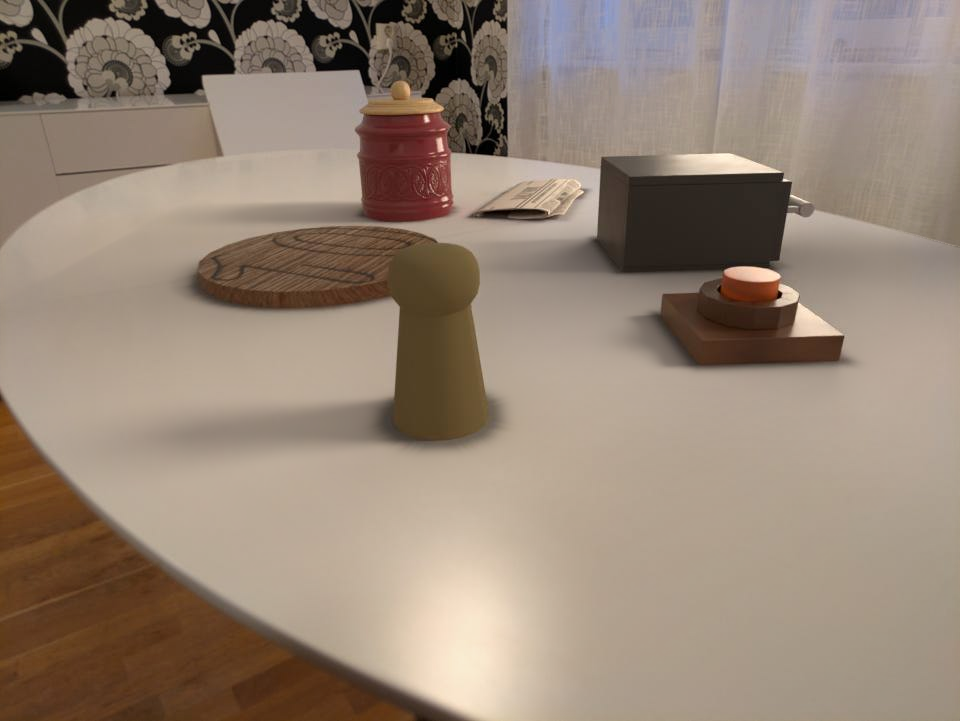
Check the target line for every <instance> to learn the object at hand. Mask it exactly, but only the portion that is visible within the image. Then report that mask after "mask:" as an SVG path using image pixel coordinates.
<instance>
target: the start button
mask: <svg viewBox="0 0 960 721" xmlns="http://www.w3.org/2000/svg"><path fill="white" fill-rule="evenodd" d="M721 278H722V284H721V291H720V294H721V295H722V296H725V297H728V298H731V299H735V300H742V301H750V302H769V301H773V300H776V299H777V295H778V290H779V284H781V283H780V282H781V278H782V277H781V275H780V273H778V272H776V271H774V270H771V269H769V268H767V269H764V268H758V267H745V266H744V267H732V268H728V269H726V270H723V272H722V277H721Z"/></svg>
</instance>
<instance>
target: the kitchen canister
mask: <svg viewBox="0 0 960 721" xmlns="http://www.w3.org/2000/svg"><path fill="white" fill-rule="evenodd" d="M390 95H391V98H375V99H370V100H369V101H368V103H367V104H365V105H364V106H363V107H361V108H360V109H359V110H358V111H359V113H360V114H361V115H363V117H362V119H361V122H360V123H359V124H357V126H356V127H355V128H354V132H355V134H357V135H358V137H359V152H357V153H356V158H357V159H358V166H359V177H360V187H361V188H360V189H361V198H360V201H361V208H362V210H363V213H364V216H365V217H366V218H368V219H371V220H375V221H382V222H394V223H395V222H396V223H397V222H398V223H400V222H401V223H404V222H406V223H407V222H421V221H429V220H435V219H438V218H443V217H445V216H448V215H449V214H451V213H452V212H453V205H454V194H453V190H452V189H453V188H452V186H453V185H452V165H451V163H452V162H451V155H452V154H453V152H452V150H451V149H450V148H449V142H448V133H449V131H450V130H451V127H452V126H451V125H450V123H448V122H446V121H445V120H444V119H443V116H442V115H441V112H443V111H444V110H445V108H444V107H443V106H442V105H440V104H439V103H437V102H436V101H435V100H434V99H433V98H431V97H430V98H429V97H411V88H410V85H409V83H408V82H406V81H403V80H397V81H394V82H393V83H392V84H391V87H390Z"/></svg>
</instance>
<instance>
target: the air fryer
mask: <svg viewBox="0 0 960 721" xmlns="http://www.w3.org/2000/svg"><path fill="white" fill-rule="evenodd" d="M599 170H600V173H599V190H598V191H599V193H598V208H597V209H598V212H597V230H596V234H597V235H596V239H597V241H598V242H599V244H600V245H601V246H602V248H603V249H604V250H605V251H606V253H607V254H608V256H609V257H610V258H611V259H612V260H613V262H614V263H615V265H616V266H617V267H618V268H619V270H620V271H621V272H622V273H623V274H629V273H663V272H664V273H665V272H687V271H688V272H696V271H698V272H699V271H724V270H726V269H728V268H732V267H744V266H745V267H758V268H764V269H769V268H770V263H771V261H770V258H771V252H772V246H773V240H774V234H775V227H776V221H777V215H778V209H779V203H780V197H781V191H782V185H783V178H784V177H785V172H784V171H780V170H778V169H775V168H772V167H769V166H768V165H764V164H761V163H759V162H756V161H753V160H750V159H747V158H745V157H743V156H742V157H741V156H739V155H737V154H733V153H728V152H727V153H725V152H724V153H688V154H657V155H655V154H653V155H652V154H650V155H618V156H617V155H616V156H601V157H600V169H599Z"/></svg>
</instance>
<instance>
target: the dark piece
mask: <svg viewBox="0 0 960 721" xmlns="http://www.w3.org/2000/svg"><path fill="white" fill-rule="evenodd" d="M792 186H793V181H792V180H789V179H787V178H784V177H783V185H782V191H781V197H780V203H779V209H778V215H777V221H776V227H775V234H774V240H773V246H772V252H771V258H770V262H779V261H780V257H781V256H780V255H781V251H782V247H783V246H782V245H783V239H784V233H785V227H786V221H787V216H788V214H796V215H797V216H799V217H802V218H809V217H811V216H812V215H813V214H814V212H815V205H814V204H813V203H811V202H809V201H807V200H804V199H802V198H800V197H797V196H795V195H793V194H791V193H792Z"/></svg>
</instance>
